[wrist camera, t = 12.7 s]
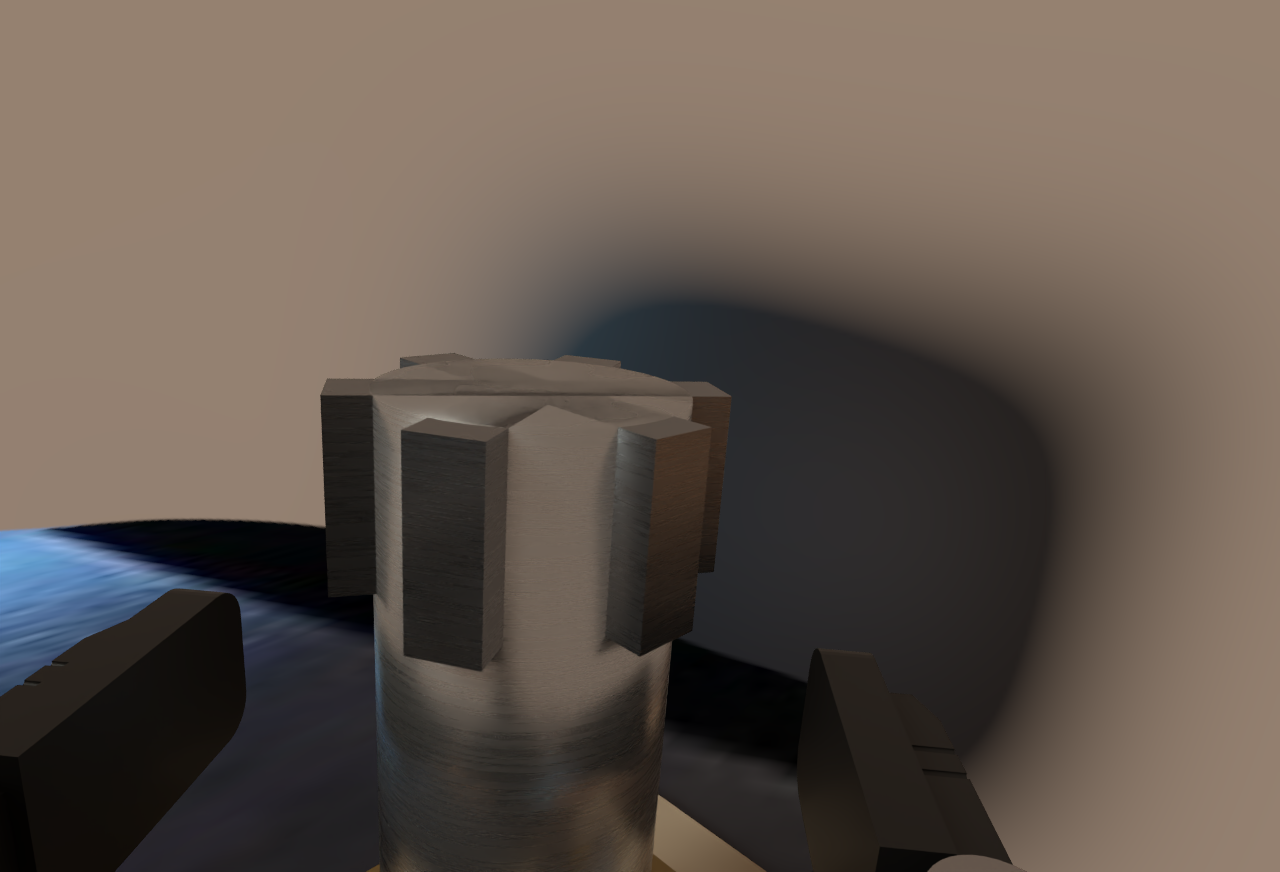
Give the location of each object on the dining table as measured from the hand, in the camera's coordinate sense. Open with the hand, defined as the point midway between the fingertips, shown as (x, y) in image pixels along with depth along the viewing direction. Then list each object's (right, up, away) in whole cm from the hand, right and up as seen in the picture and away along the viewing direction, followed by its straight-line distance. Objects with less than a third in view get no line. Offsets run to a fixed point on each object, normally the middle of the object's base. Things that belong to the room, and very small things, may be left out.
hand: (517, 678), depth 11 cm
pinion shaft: (0, -8, +2) cm, 8 cm away
